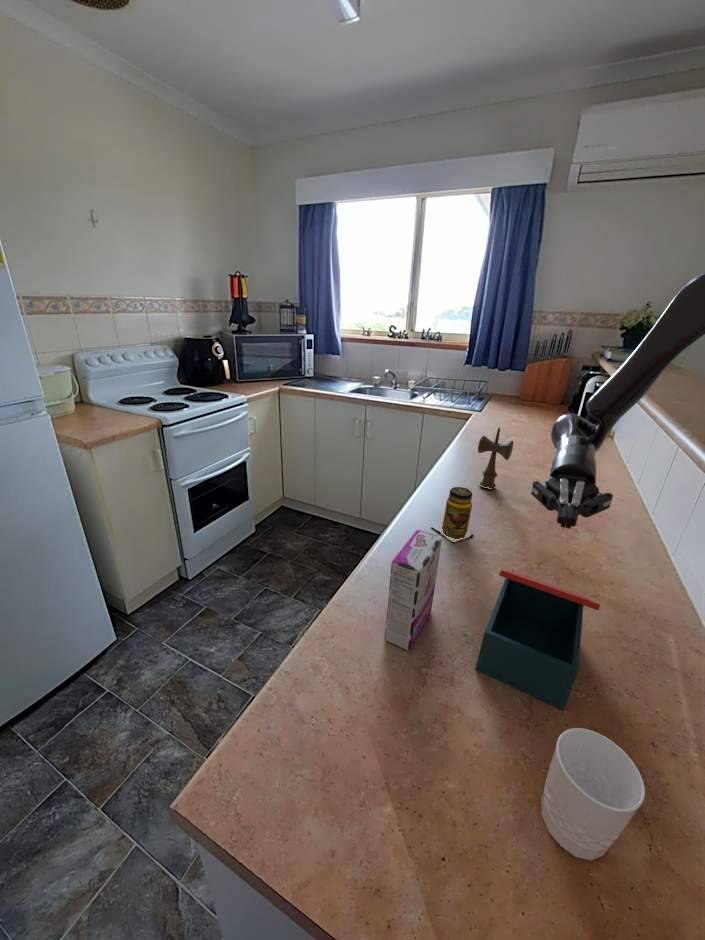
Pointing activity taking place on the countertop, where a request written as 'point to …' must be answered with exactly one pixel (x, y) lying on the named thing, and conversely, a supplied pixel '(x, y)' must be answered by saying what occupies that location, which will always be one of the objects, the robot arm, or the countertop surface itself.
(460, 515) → the condiment
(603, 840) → the white cup
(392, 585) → the candy bar box
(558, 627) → the box
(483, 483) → the kendama
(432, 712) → the countertop surface
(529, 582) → the lid
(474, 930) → the countertop surface
